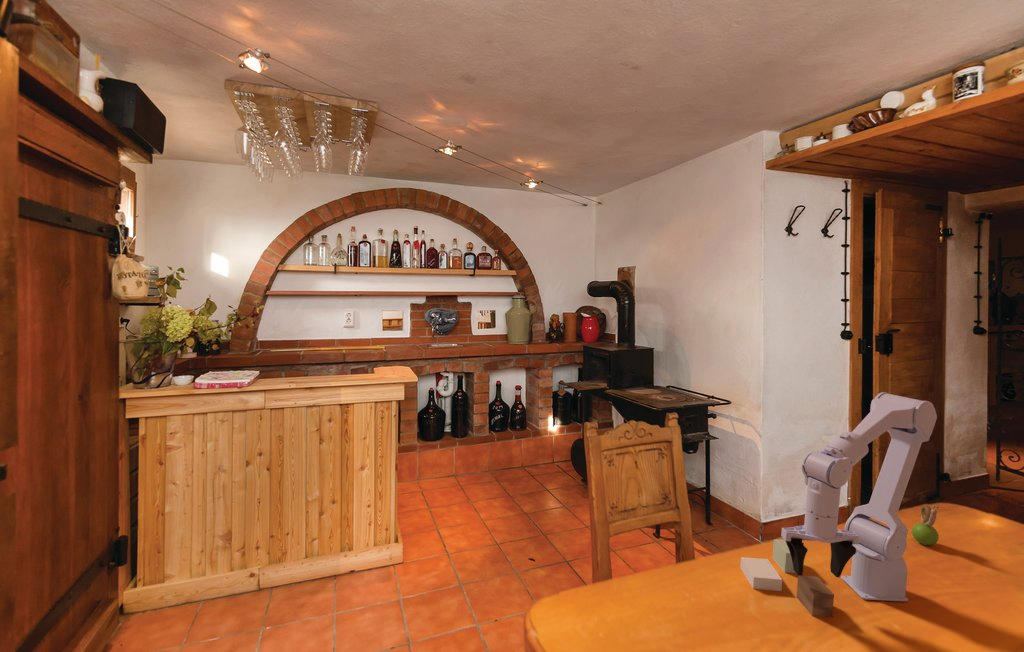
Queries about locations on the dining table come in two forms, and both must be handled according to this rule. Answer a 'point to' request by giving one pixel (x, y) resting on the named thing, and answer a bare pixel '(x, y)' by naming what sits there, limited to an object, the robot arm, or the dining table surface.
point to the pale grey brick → (761, 574)
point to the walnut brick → (815, 596)
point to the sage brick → (782, 556)
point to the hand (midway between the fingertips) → (816, 573)
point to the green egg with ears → (926, 527)
